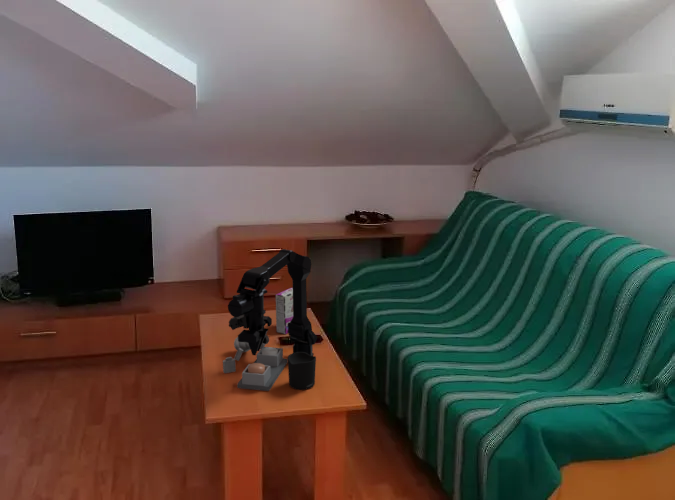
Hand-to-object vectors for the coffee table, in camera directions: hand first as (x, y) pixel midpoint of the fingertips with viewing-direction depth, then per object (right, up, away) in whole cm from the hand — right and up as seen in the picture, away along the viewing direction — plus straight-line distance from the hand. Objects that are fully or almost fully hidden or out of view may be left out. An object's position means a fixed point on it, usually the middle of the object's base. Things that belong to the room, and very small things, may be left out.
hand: (255, 352), depth 227 cm
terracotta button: (0, -9, +2) cm, 9 cm away
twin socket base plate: (+1, -9, +11) cm, 14 cm away
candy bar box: (+7, +1, +54) cm, 55 cm away
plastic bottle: (-10, -1, +31) cm, 32 cm away
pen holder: (+15, -11, +3) cm, 19 cm away
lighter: (-10, -9, +14) cm, 19 cm away
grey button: (+3, -5, +18) cm, 19 cm away
